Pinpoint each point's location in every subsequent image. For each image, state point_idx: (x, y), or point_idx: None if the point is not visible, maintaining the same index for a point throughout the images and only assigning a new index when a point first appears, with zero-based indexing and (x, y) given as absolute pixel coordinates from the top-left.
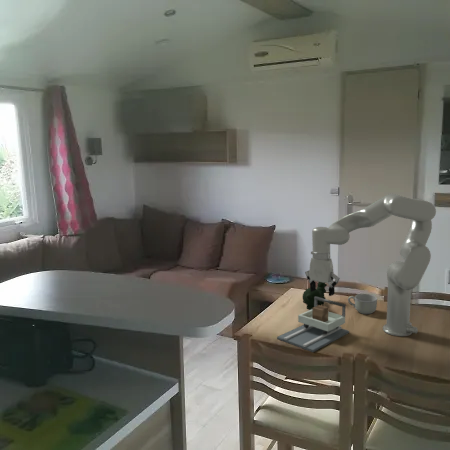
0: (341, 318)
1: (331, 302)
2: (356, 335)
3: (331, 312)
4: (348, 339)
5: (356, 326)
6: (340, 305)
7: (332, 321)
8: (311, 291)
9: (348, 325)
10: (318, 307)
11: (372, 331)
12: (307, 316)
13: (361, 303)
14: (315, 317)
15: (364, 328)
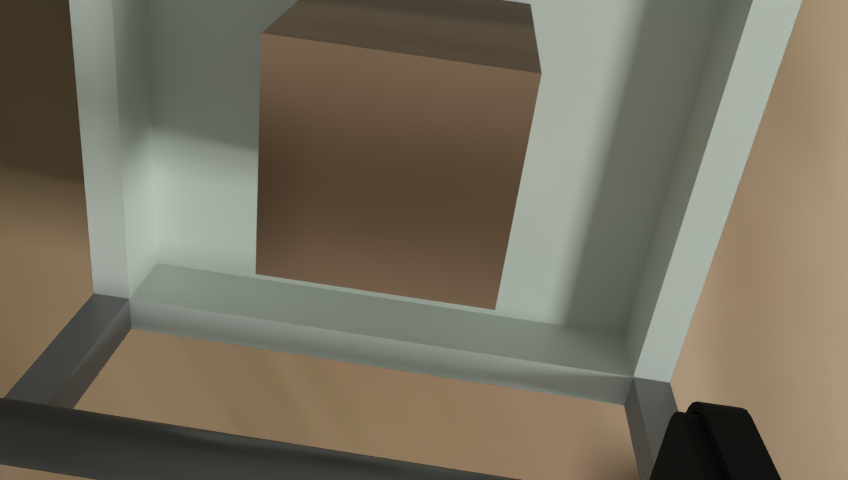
0: (91, 225)
1: (282, 458)
2: (51, 204)
3: (343, 355)
4: (40, 45)
5: (195, 410)
6: (71, 414)
7: (97, 3)
8: (698, 406)
9: (272, 396)
10: (430, 172)
11: (5, 377)
12: (686, 129)
13: None
14: (459, 12)
15: (106, 404)
